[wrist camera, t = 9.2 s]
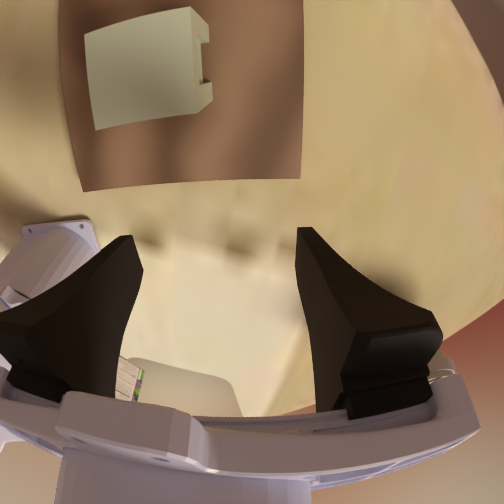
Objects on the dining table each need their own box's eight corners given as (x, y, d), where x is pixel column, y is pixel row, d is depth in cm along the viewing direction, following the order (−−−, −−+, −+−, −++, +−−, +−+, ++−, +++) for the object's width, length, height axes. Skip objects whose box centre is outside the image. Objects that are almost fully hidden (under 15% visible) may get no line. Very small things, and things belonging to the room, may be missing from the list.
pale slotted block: (135, 110, 15) (95, 130, 11) (128, 39, 12) (84, 34, 8) (212, 100, 15) (197, 113, 11) (208, 25, 12) (190, 6, 8)
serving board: (91, 184, 20) (83, 192, 19) (70, -2, 10) (59, -4, 9) (296, 171, 20) (300, 178, 18) (297, -40, 10) (300, -48, 9)
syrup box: (125, 378, 38) (107, 460, 27) (95, 359, 35) (69, 444, 24) (145, 370, 36) (127, 462, 25) (112, 349, 33) (84, 446, 22)
